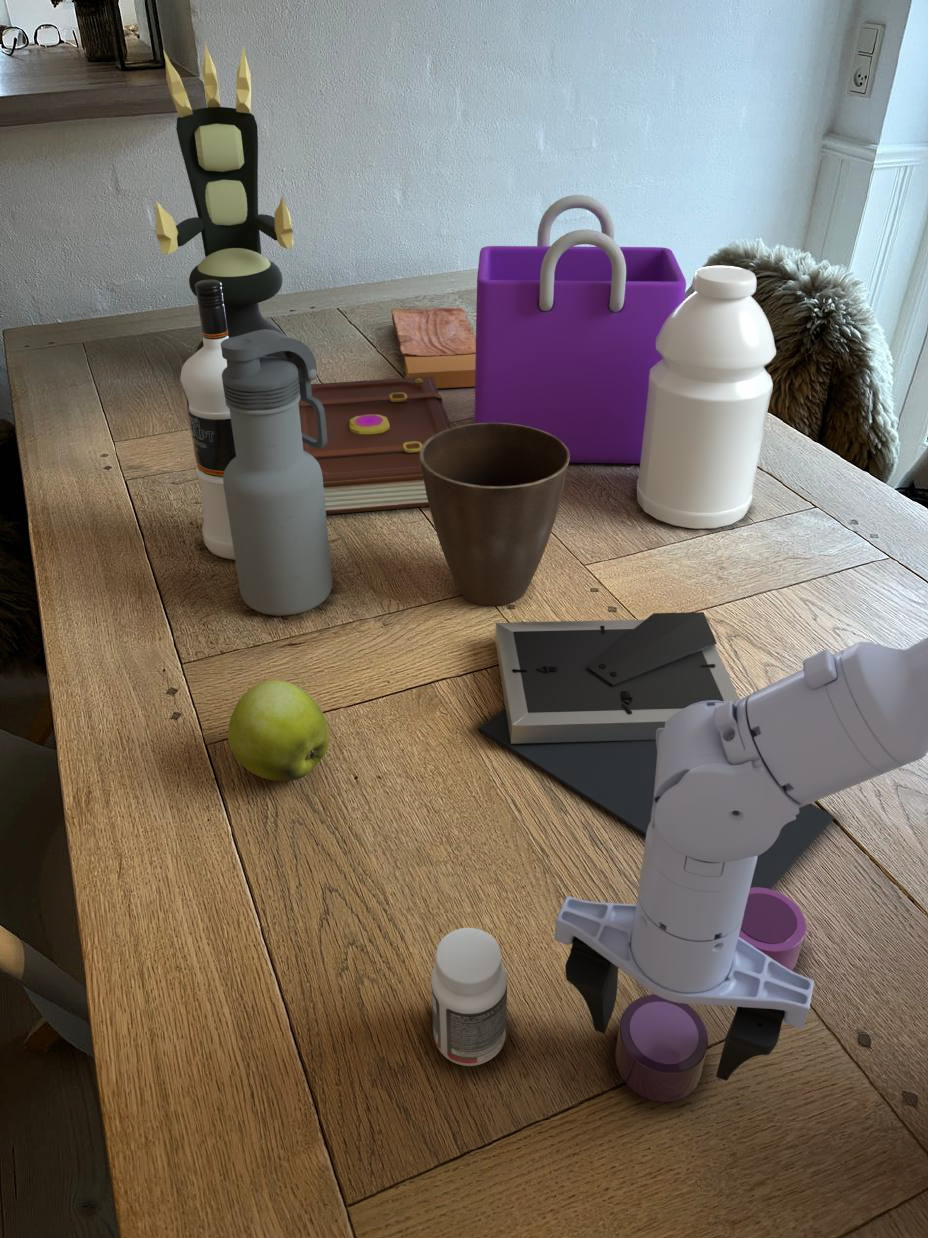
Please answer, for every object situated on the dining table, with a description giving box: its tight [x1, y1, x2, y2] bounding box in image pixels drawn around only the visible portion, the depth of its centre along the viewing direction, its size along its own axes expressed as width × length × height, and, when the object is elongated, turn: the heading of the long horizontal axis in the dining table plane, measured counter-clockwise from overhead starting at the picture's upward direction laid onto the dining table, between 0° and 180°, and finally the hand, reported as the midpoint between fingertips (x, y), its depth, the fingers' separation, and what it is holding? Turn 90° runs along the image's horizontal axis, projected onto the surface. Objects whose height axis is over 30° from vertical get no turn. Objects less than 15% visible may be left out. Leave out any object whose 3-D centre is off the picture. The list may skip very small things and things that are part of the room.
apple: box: [227, 679, 331, 782], centre depth 84 cm, size 8×9×8 cm
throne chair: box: [155, 40, 294, 360], centre depth 149 cm, size 19×22×45 cm
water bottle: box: [221, 329, 333, 617], centre depth 100 cm, size 10×10×28 cm
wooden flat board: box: [390, 307, 476, 389], centre depth 165 cm, size 13×30×3 cm, turn 8°
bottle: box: [636, 265, 777, 529], centre depth 116 cm, size 14×14×28 cm
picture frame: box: [494, 611, 741, 744], centre depth 93 cm, size 16×3×21 cm
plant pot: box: [420, 423, 570, 607], centre depth 104 cm, size 15×15×16 cm
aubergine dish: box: [614, 993, 709, 1103], centre depth 63 cm, size 5×5×3 cm
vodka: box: [179, 280, 236, 561], centre depth 108 cm, size 9×9×30 cm
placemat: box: [478, 708, 835, 890], centre depth 85 cm, size 28×12×1 cm, turn 46°
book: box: [298, 376, 452, 515], centre depth 134 cm, size 23×32×5 cm
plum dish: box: [739, 887, 807, 971], centre depth 70 cm, size 5×5×3 cm
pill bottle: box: [430, 927, 508, 1067], centre depth 63 cm, size 5×5×8 cm
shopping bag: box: [473, 194, 687, 465], centre depth 131 cm, size 28×22×30 cm
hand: (663, 1041), depth 62 cm, fingers open, 7 cm apart
